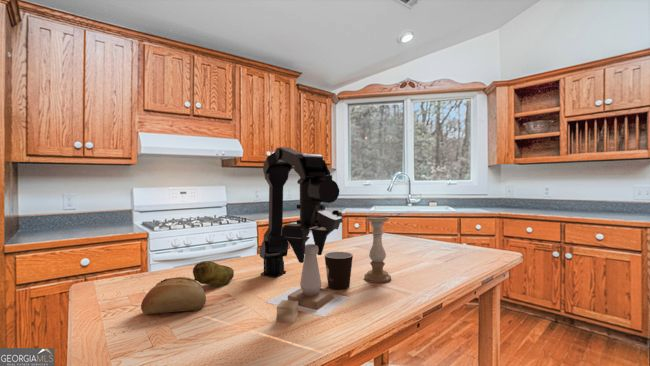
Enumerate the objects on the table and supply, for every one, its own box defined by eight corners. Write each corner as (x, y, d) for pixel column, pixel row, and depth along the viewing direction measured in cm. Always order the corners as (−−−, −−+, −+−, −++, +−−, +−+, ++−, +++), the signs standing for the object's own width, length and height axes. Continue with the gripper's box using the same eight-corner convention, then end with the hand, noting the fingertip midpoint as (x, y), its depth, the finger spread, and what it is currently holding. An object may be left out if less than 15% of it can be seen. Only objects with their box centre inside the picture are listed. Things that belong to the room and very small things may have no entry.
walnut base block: (287, 303, 83) (287, 295, 83) (306, 292, 91) (306, 285, 91) (316, 309, 78) (316, 301, 78) (333, 297, 86) (333, 290, 86)
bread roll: (145, 307, 82) (145, 277, 82) (206, 299, 87) (206, 271, 87) (137, 323, 73) (136, 289, 73) (206, 313, 78) (205, 281, 78)
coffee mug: (351, 293, 90) (351, 259, 90) (322, 291, 92) (321, 257, 92) (355, 280, 102) (355, 250, 102) (329, 279, 104) (329, 249, 103)
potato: (238, 285, 98) (238, 259, 98) (194, 293, 92) (194, 265, 92) (232, 278, 105) (231, 254, 105) (190, 284, 99) (190, 259, 99)
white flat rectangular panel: (265, 303, 83) (265, 302, 83) (295, 287, 95) (295, 286, 95) (324, 318, 74) (324, 316, 74) (349, 298, 87) (349, 296, 87)
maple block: (276, 323, 72) (276, 306, 72) (282, 316, 76) (282, 300, 76) (293, 325, 71) (293, 307, 71) (298, 317, 75) (298, 301, 75)
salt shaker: (300, 289, 87) (299, 243, 87) (320, 288, 88) (320, 242, 88) (300, 297, 81) (300, 247, 81) (322, 296, 82) (322, 246, 82)
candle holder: (382, 273, 109) (382, 215, 109) (396, 281, 101) (396, 218, 100) (359, 276, 106) (359, 216, 106) (371, 284, 98) (371, 219, 98)
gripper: (318, 204, 72) (318, 271, 72) (352, 199, 88) (352, 254, 88) (279, 202, 78) (280, 265, 78) (318, 198, 94) (318, 250, 94)
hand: (310, 258), depth 84 cm, fingers open, 9 cm apart
